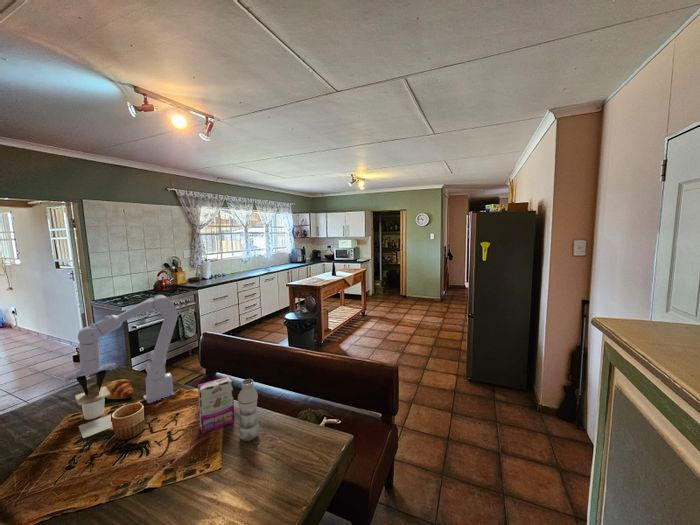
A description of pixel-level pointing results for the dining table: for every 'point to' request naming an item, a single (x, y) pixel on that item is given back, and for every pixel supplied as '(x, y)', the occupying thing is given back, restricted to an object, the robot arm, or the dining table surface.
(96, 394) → the lid
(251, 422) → the plastic bottle
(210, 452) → the dining table surface
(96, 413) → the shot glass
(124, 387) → the croissant
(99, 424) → the mat
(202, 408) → the candy bar box
